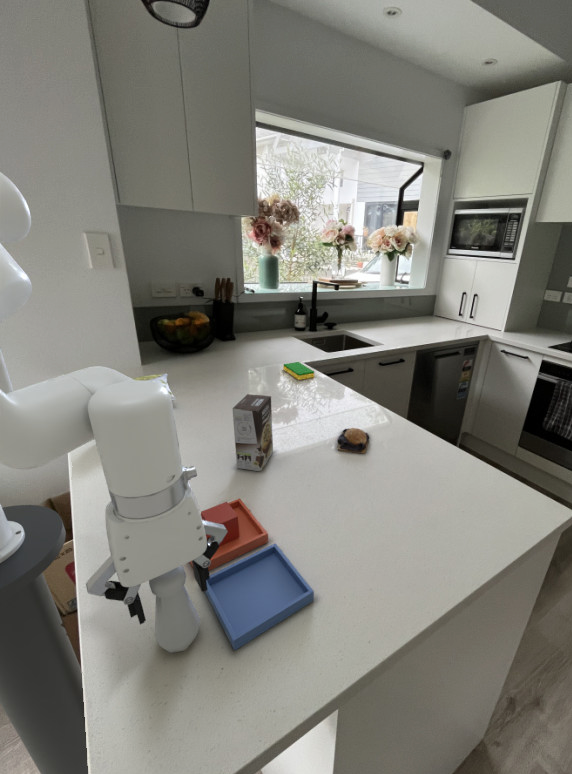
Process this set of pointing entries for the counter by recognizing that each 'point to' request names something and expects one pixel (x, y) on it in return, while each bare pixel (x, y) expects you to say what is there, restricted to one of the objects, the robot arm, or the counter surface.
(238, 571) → the blue tray
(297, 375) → the dish sponge
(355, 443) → the burger
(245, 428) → the coffee box
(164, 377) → the frozen beans
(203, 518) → the red block
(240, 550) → the red tray
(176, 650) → the salt shaker
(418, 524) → the counter surface
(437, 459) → the counter surface
